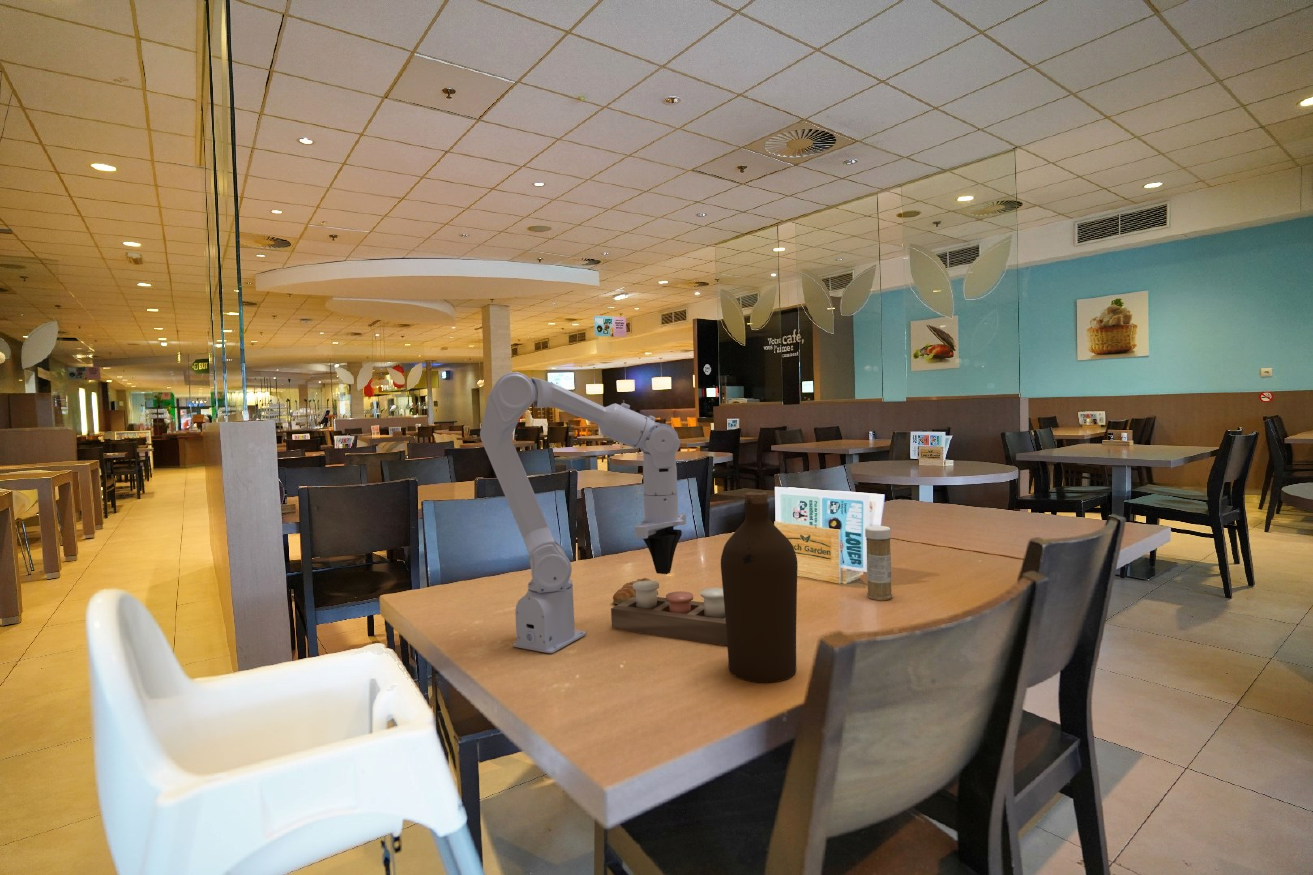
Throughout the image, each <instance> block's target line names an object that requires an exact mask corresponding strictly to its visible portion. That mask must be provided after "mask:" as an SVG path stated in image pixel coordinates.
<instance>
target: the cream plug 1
mask: <svg viewBox="0 0 1313 875" xmlns="http://www.w3.org/2000/svg"><path fill="white" fill-rule="evenodd" d="M659 588H660V582H658V581H655V580H651V581H639V582H636V583H634V584H633V589H634V590H636V606H637V608H643V609H654V608H656V607H657V597H658V595H657V590H658V589H659Z"/></svg>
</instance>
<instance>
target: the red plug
mask: <svg viewBox="0 0 1313 875" xmlns="http://www.w3.org/2000/svg"><path fill="white" fill-rule="evenodd" d="M665 598H666V600H667V601H669V610H670V612H674V613H682V614H688V613H689V612H691V602H690V601H694V594H693V593H692V592H688V591H673V592H672V591H671V592H669V593H667V594H665Z"/></svg>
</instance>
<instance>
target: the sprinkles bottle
mask: <svg viewBox="0 0 1313 875" xmlns="http://www.w3.org/2000/svg"><path fill="white" fill-rule="evenodd" d="M864 530H865V531H864V532H865V533H864V537H865V538H866V581H867V595H866V596H867V597H868V598H869V599H871V600H876V601H888V600H891V599H893V595H892V554H891V538H892V532H891V528H890V527H889V526H886V525H869V526H868V525H867V526H866V527H865V529H864Z"/></svg>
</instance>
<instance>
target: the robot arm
mask: <svg viewBox="0 0 1313 875" xmlns="http://www.w3.org/2000/svg"><path fill="white" fill-rule="evenodd" d="M533 403H534V406H533V407H534V409H541V408H542V409H543V408H555V409H557V410H560V411H562V412H566V413H568V414H571V415H573V416H576V417H578V418H581V419H583V420H586V421H589V422H590V423H593V424H595V425H597V427H598V428H599V431H600V433H601V435H602V436H603V437H607V438H608V439H611V440H613V441H615V442H618V443H620V444H623V445H625V446H628V447H630V448H633V449H636V450H637V449H639V450H640V451H641V452H642V453H643V457H642V458H643V468H642V473H643V474H642V477H643V505H644V506H643V507H644V519H643V520H642V521H641V522H640V523H638V524H637V525H635V526H634V527H633V528H634V538H635V539H642V540H643V542H644V543H645V545H646V546H647V549H648V551H649V552H650V555H651V559H652V561H653V565H654V570H655V572H656V574H659V575H668V574H670V573H671V570H672V567H673V566H672V565H673V561H674V557H675V556H674V555H675V552H676V549H677V545H678V543H679V542H680V541H679V540H680V539H681V537H682V536H683V535H682V534H683V533H682V532H683V530H681V529H675V528H674V527H677V526H683V525H686V524H687V513H683V512H679V504H678V503H679V502H678V501H679V500H678V471H677V468H678V467H677V459H676V457H677V455H676V454H677V452H678V451H679V449H680V446H681V439H679V434H678V432H677V431H676V429H675V428H674V427H673V426H672V425H669V424H667V423H660V422H656V417H655V416H653V415H648V416H646V415H643V414H641V413H640V412H637V411H634V410H632V409H631V408H630V407H631V405H630V404H627V403H625V402H622V403H621V404H618V403H612V404H609V405H608V406H604V405H601V404H599V403H597V402H595V401H593V400H590V399H588V398H586V397H584V396H581V395H580V394H577V393H575V392H573V391H570V390H569V389H567V388H564V387H562V386H561V385H558V384H555V383H553V382H550V381H547V380H544V379H541V378H537V377H533V376H531V378H529V377H528V376H527V375H526V374H524V373H521V372H518V371H513V372H507V373H504V374H503V375H502V376H500V377H499V378H498V379H497V381H496V382H495V384H494V386H492V389H491V390H490V392H489V394H488V395H487V398H486V404H485V408H484V414H483V418H482V421H481V427H480V431H479V436H480V440H481V443H482V445H483V447H484V450H485V453H486V454H487V456H488V460H489V461H490V464H491V466H492V469H493V471H494V473H495V475H496V477H497V480H498V483H499V485H500V488H501V490H502V492H503V495H504V496H505V499H506V501H507V503H508V506H509V508H510V510H511V513H512V516H513V518H514V521H515V522H516V525H517V528H518V530H519V532H520V534H521V537H522V539H523V541H524V544H525V547H526V550H527V552H528V555H529V556H528V563H529V567H530V570H531V572H530V574H531V578H532V579H530V582H528V584H527V592H526V593H525V595H524V596H522V597H521V598H520V599H519V600H518V601H517V602H516V606H515V609H514V610H515V629H516V630H515V631H516V633H515V634H516V642H513V644H512V647H513V648H514V647H515V648H520V649H524V650H529V651H534V652H535V651H536V652H542V653H545V654H546V653H547V654H554V653H555V652H557V651H560V650H561V649H562V648H565V647H566V646H568V645H569V644H572V643H573V642H575V641H577V640H579V639H581V638H583V637H584V636H586V635H587V633H586V631H582V630H577V629H576V628H575V608H574V589H573V588H574V587H573V586H574V585H573V584H574V583H573V580H572V579H570V578H571V576H572V564H571V561H570V559H569V558H568V556H567V553H566V550H565V549H564V548H563V546H562V545H561V544H559V543H558V542H557V541H556V540H555V538H554V537H553V534H552V532H551V530H550V527H549V524H548V523H547V520H546V517H545V515H544V513H543V511H542V508H541V505H540V504H539V501H538V498H537V496H536V494H535V492H534V489H533V487H532V485H531V482H530V480H529V477H528V474H527V473H526V470H525V468H524V464H523V463H522V461H521V458H520V455H519V454H518V452H517V449H516V447H515V444H514V442H513V440H512V435H513V434H514V432H515V429H516V428H517V425H518V423H519V419H520V418H521V417H522V416H523V415H524V414H525V413H526V412H527V410H528V409H529V408H530V407H531V406H532V405H533Z"/></svg>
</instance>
